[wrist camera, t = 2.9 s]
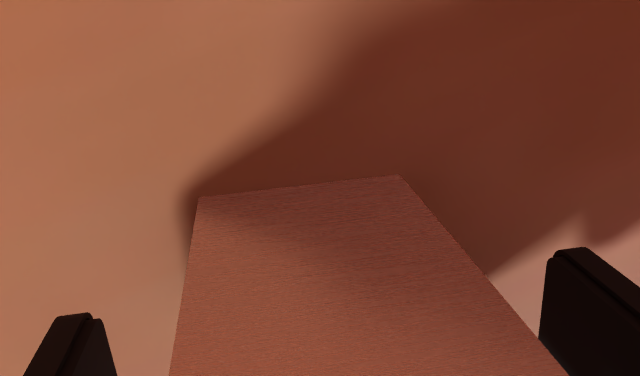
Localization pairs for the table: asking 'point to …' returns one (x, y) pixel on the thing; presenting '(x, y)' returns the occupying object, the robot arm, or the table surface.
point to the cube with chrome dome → (341, 290)
